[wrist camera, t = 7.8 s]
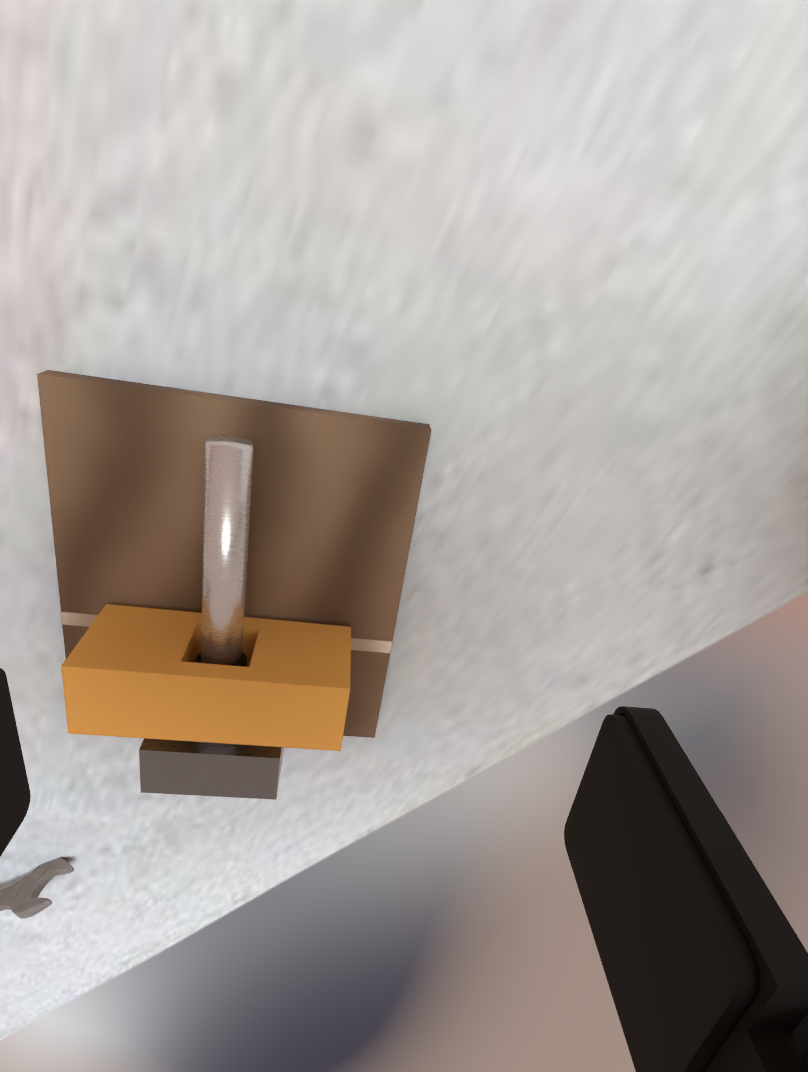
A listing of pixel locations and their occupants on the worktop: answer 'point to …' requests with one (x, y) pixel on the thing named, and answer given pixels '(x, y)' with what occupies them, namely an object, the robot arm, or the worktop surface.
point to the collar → (208, 681)
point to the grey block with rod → (218, 640)
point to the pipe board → (275, 511)
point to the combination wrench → (32, 889)
